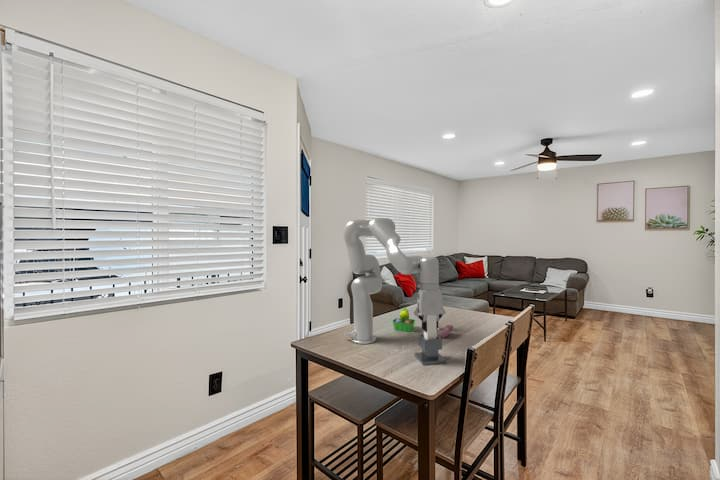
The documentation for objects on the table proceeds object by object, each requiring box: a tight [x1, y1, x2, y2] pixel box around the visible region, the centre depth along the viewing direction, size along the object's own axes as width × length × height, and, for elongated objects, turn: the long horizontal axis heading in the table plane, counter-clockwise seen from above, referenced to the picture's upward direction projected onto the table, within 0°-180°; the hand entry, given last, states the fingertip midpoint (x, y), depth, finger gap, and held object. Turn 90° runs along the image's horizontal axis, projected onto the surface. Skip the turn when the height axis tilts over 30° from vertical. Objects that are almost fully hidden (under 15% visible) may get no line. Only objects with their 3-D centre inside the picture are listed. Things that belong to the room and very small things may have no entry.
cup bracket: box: [414, 333, 447, 366], centre depth 131 cm, size 10×10×10 cm
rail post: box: [423, 315, 438, 340], centre depth 131 cm, size 4×4×12 cm
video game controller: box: [437, 324, 454, 339], centre depth 160 cm, size 10×5×7 cm, turn 149°
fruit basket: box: [391, 307, 416, 333], centre depth 172 cm, size 11×9×11 cm
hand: (430, 329), depth 131 cm, fingers closed on rail post, 4 cm apart
